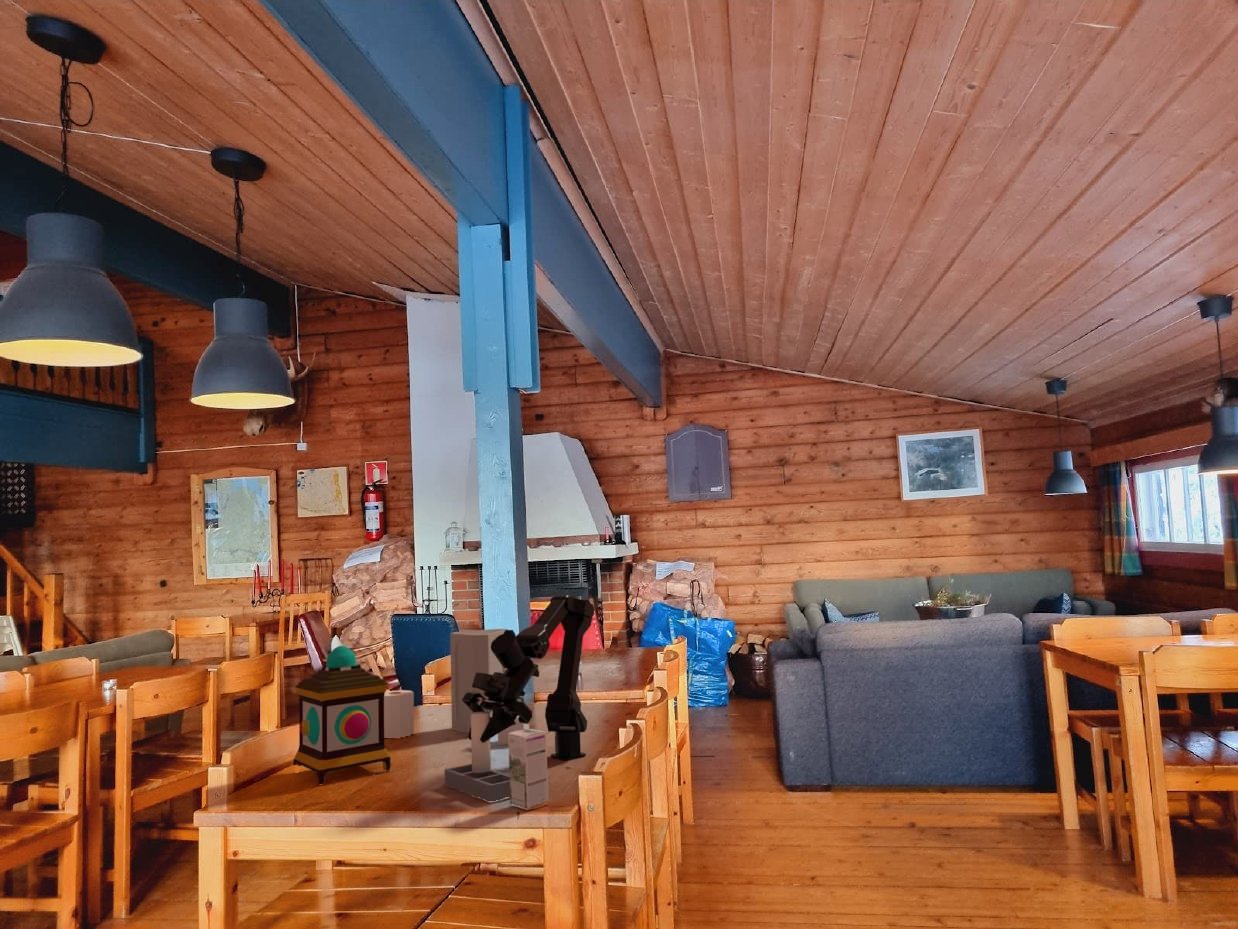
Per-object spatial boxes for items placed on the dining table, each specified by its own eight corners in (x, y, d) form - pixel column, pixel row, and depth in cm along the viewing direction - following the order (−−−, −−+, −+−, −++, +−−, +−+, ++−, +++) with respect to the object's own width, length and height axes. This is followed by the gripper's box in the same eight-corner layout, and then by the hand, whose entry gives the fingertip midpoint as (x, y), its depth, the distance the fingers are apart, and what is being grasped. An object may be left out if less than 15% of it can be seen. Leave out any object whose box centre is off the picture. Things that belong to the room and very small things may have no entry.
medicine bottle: (529, 739, 231) (528, 694, 233) (524, 745, 224) (522, 698, 226) (504, 739, 232) (503, 695, 233) (497, 745, 225) (496, 699, 226)
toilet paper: (395, 740, 237) (394, 696, 238) (369, 737, 242) (369, 694, 243) (421, 733, 245) (420, 690, 247) (395, 730, 251) (395, 689, 252)
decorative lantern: (285, 773, 203) (285, 647, 207) (364, 758, 216) (363, 639, 219) (315, 789, 188) (315, 652, 191) (398, 771, 201) (397, 643, 204)
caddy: (520, 796, 176) (520, 778, 176) (491, 803, 171) (490, 785, 172) (473, 779, 191) (472, 763, 191) (444, 785, 186) (444, 769, 187)
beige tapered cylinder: (494, 770, 181) (492, 713, 183) (477, 774, 179) (476, 716, 180) (484, 767, 184) (483, 711, 186) (468, 770, 182) (467, 713, 183)
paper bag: (464, 722, 260) (462, 629, 263) (510, 721, 257) (508, 628, 260) (440, 735, 241) (439, 636, 244) (490, 735, 239) (488, 634, 242)
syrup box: (549, 805, 169) (547, 730, 170) (526, 812, 165) (524, 735, 166) (532, 800, 173) (530, 727, 174) (508, 806, 169) (506, 732, 170)
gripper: (467, 655, 193) (427, 713, 184) (520, 660, 180) (480, 722, 171) (495, 686, 198) (458, 743, 189) (549, 692, 185) (511, 754, 176)
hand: (475, 740), depth 181 cm, fingers closed on beige tapered cylinder, 4 cm apart
